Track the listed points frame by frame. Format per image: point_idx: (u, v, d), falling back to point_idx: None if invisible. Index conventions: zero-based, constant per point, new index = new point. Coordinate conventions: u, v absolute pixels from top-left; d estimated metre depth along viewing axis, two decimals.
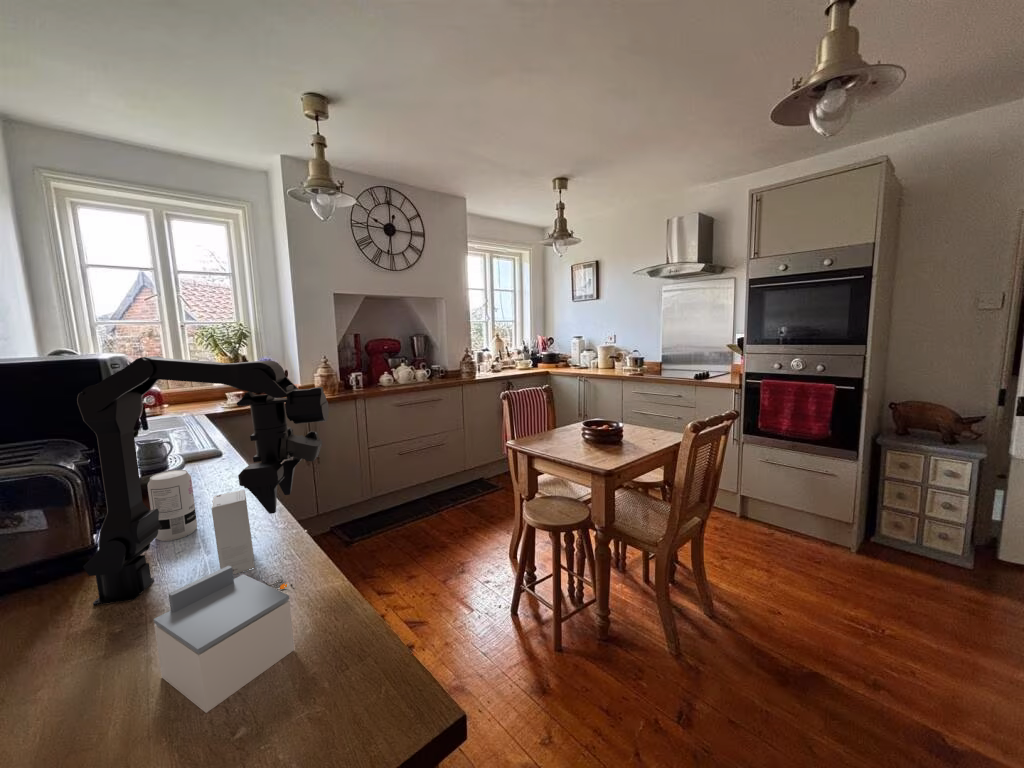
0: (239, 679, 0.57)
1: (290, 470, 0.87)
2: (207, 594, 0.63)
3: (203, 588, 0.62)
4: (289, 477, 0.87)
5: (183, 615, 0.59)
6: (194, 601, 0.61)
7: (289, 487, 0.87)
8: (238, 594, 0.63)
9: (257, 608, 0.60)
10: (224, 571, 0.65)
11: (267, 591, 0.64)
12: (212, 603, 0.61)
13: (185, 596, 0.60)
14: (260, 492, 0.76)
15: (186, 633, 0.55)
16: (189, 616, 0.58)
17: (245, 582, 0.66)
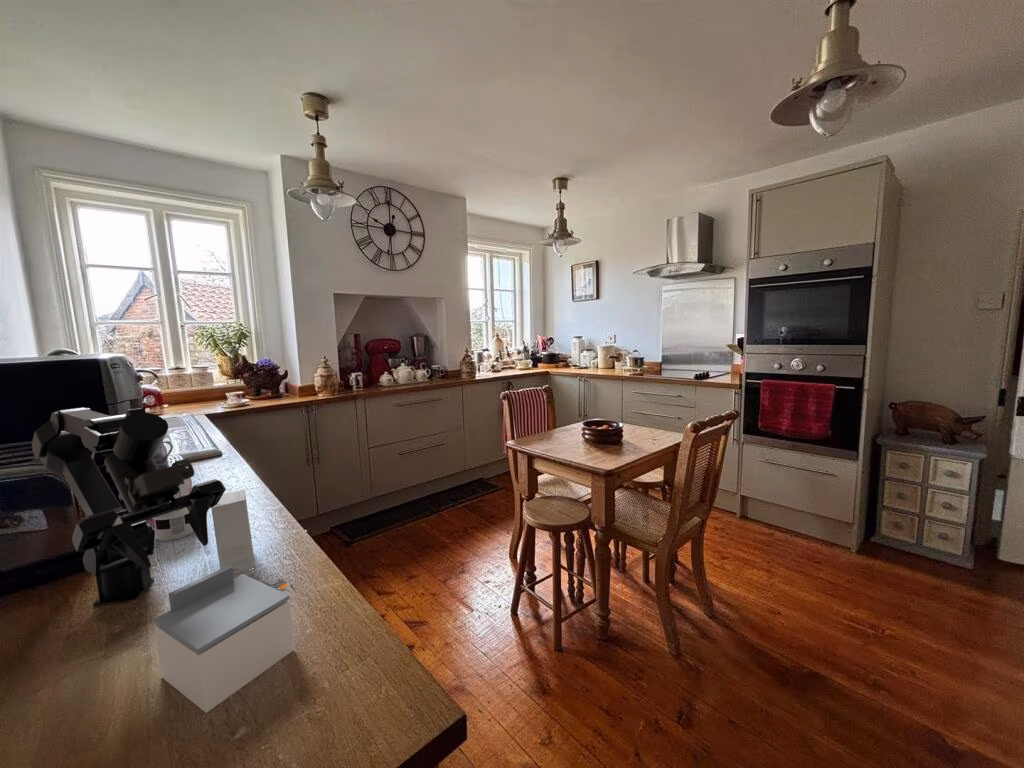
0: (239, 679, 0.57)
1: (197, 516, 0.71)
2: (207, 594, 0.63)
3: (203, 588, 0.62)
4: (198, 524, 0.70)
5: (183, 615, 0.59)
6: (194, 601, 0.61)
7: (201, 535, 0.69)
8: (238, 594, 0.63)
9: (257, 608, 0.60)
10: (224, 571, 0.65)
11: (267, 591, 0.64)
12: (212, 603, 0.61)
13: (185, 596, 0.60)
14: (122, 549, 0.63)
15: (186, 633, 0.55)
16: (189, 616, 0.58)
17: (245, 582, 0.66)
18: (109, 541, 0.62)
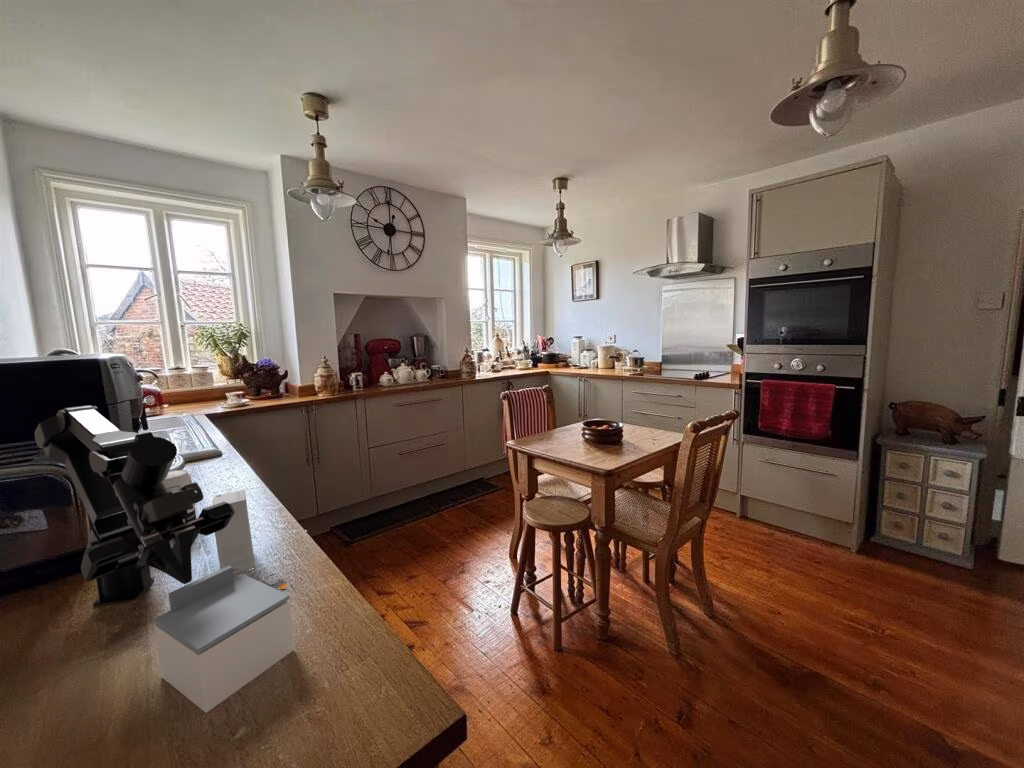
0: (239, 679, 0.57)
1: (181, 550, 0.66)
2: (207, 594, 0.63)
3: (203, 588, 0.62)
4: (181, 559, 0.66)
5: (183, 615, 0.59)
6: (194, 601, 0.61)
7: (185, 571, 0.65)
8: (238, 594, 0.63)
9: (257, 608, 0.60)
10: (224, 571, 0.65)
11: (267, 591, 0.64)
12: (212, 603, 0.61)
13: (185, 596, 0.60)
14: (161, 564, 0.65)
15: (186, 633, 0.55)
16: (189, 616, 0.58)
17: (245, 582, 0.66)
18: (149, 557, 0.65)
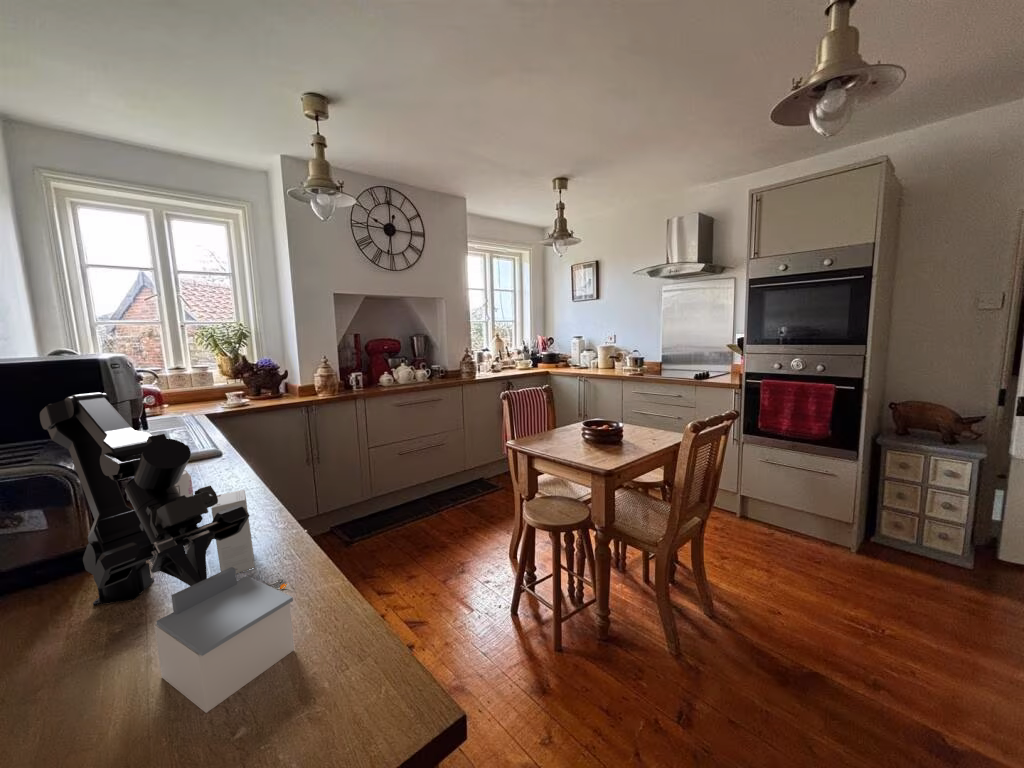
0: (239, 679, 0.57)
1: (195, 556, 0.64)
2: (210, 596, 0.62)
3: (206, 590, 0.62)
4: (196, 565, 0.64)
5: (186, 617, 0.58)
6: (197, 603, 0.61)
7: (200, 578, 0.63)
8: (241, 596, 0.63)
9: (261, 610, 0.59)
10: (227, 572, 0.65)
11: (270, 593, 0.63)
12: (216, 604, 0.61)
13: (188, 598, 0.60)
14: (175, 571, 0.63)
15: (189, 635, 0.55)
16: (192, 618, 0.58)
17: (248, 583, 0.66)
18: (162, 563, 0.62)
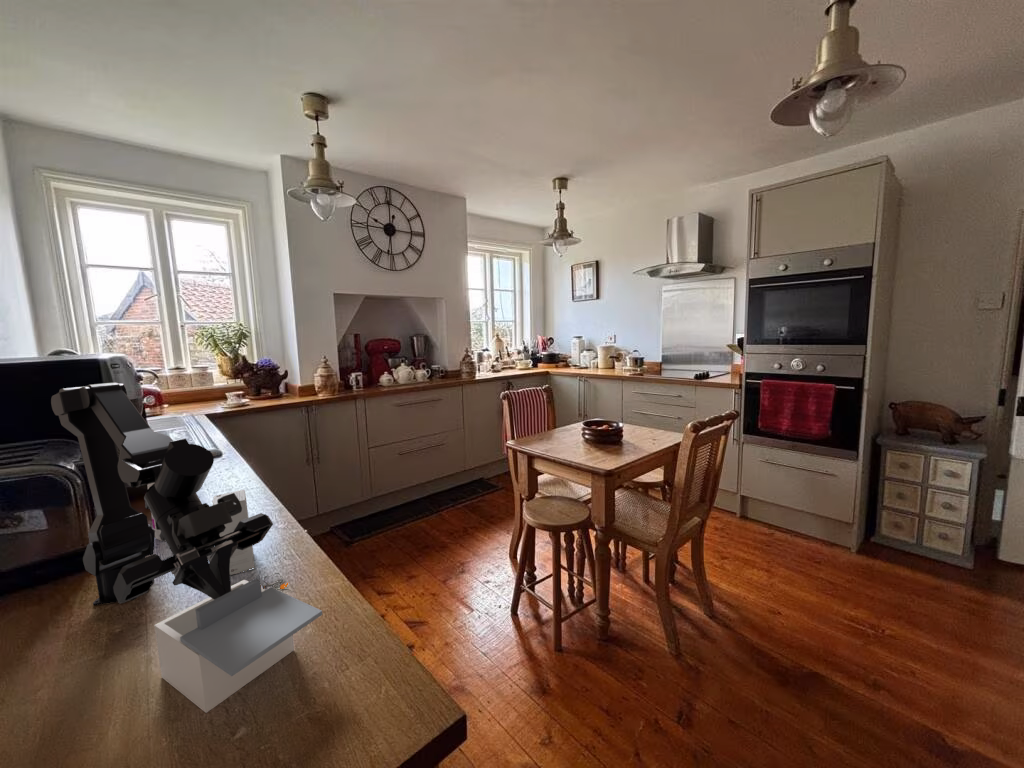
0: (239, 679, 0.57)
1: (219, 568, 0.61)
2: (235, 609, 0.59)
3: (231, 603, 0.59)
4: (220, 577, 0.60)
5: (211, 633, 0.55)
6: (222, 617, 0.58)
7: (224, 591, 0.60)
8: (268, 609, 0.59)
9: (290, 625, 0.56)
10: (252, 584, 0.61)
11: (298, 606, 0.60)
12: (241, 619, 0.58)
13: (213, 612, 0.57)
14: (198, 583, 0.60)
15: (217, 653, 0.51)
16: (218, 634, 0.55)
17: (274, 596, 0.63)
18: (185, 575, 0.59)
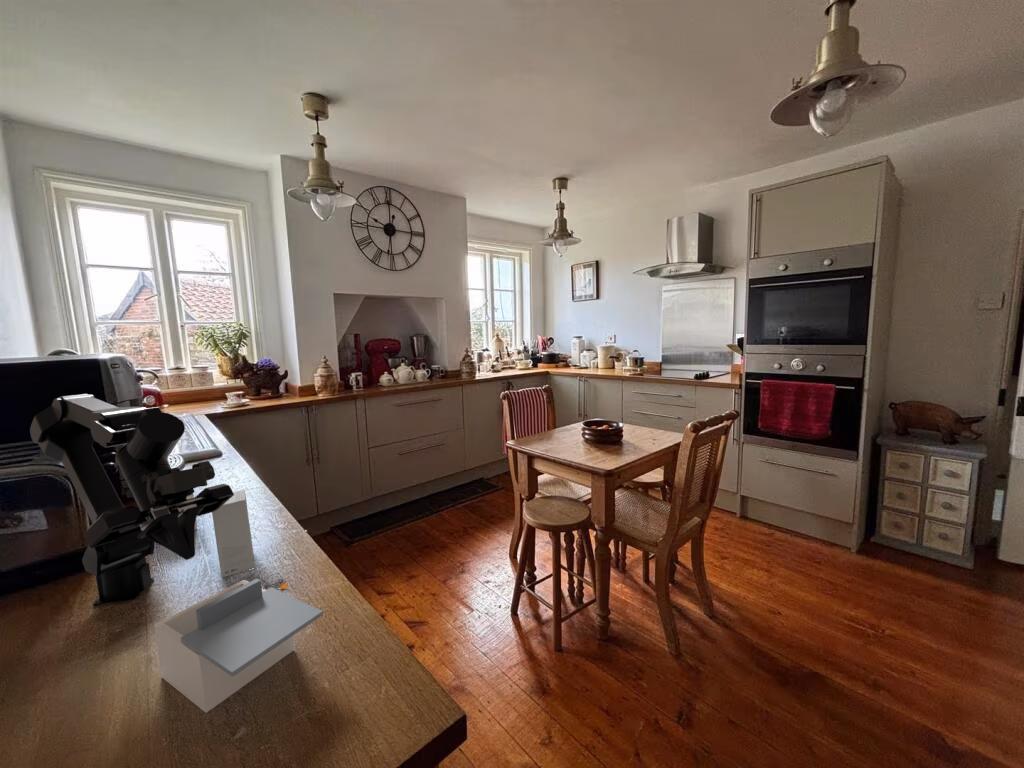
0: (239, 679, 0.57)
1: (184, 526, 0.67)
2: (235, 609, 0.59)
3: (231, 603, 0.59)
4: (185, 535, 0.67)
5: (212, 633, 0.55)
6: (222, 617, 0.58)
7: (188, 547, 0.66)
8: (268, 609, 0.59)
9: (291, 625, 0.56)
10: (253, 585, 0.61)
11: (299, 606, 0.60)
12: (242, 619, 0.57)
13: (213, 612, 0.57)
14: (163, 538, 0.66)
15: (217, 654, 0.51)
16: (219, 634, 0.55)
17: (274, 596, 0.62)
18: (152, 530, 0.65)
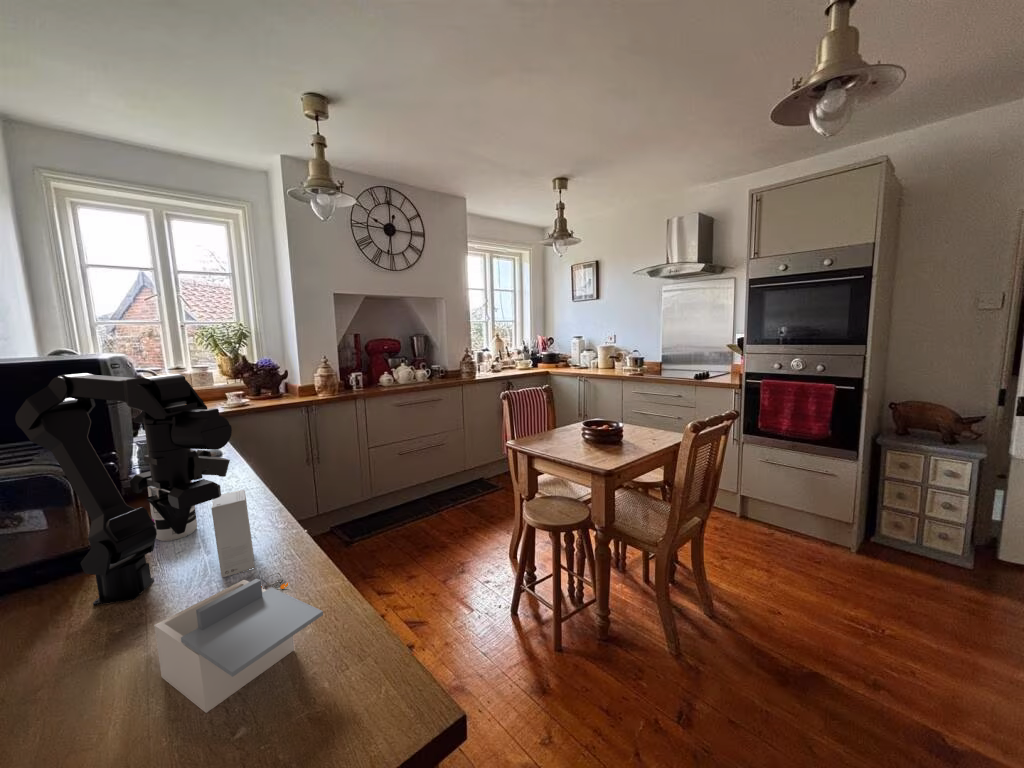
0: (239, 679, 0.57)
1: None
2: (235, 609, 0.59)
3: (231, 603, 0.59)
4: None
5: (212, 633, 0.55)
6: (222, 617, 0.58)
7: None
8: (268, 609, 0.59)
9: (291, 625, 0.56)
10: (253, 585, 0.61)
11: (299, 606, 0.60)
12: (242, 619, 0.57)
13: (213, 612, 0.57)
14: (174, 511, 0.72)
15: (217, 654, 0.51)
16: (219, 634, 0.55)
17: (274, 596, 0.62)
18: None
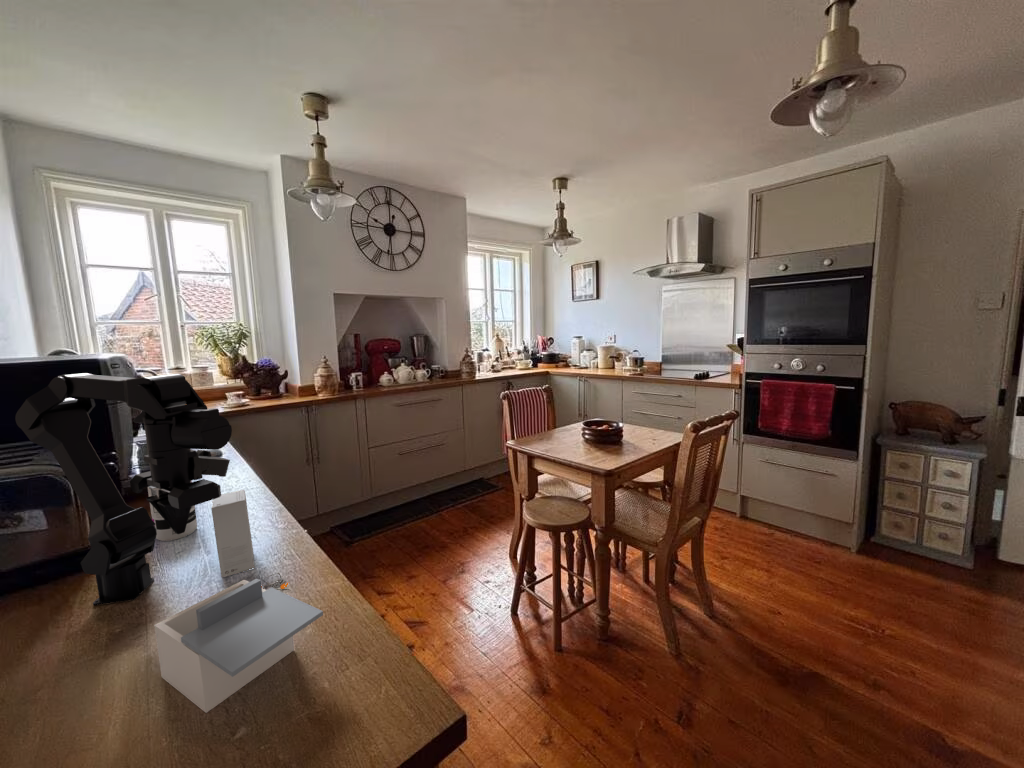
0: (239, 679, 0.57)
1: None
2: (235, 609, 0.59)
3: (231, 603, 0.59)
4: None
5: (212, 633, 0.55)
6: (222, 617, 0.58)
7: None
8: (268, 609, 0.59)
9: (291, 625, 0.56)
10: (253, 585, 0.61)
11: (299, 606, 0.60)
12: (242, 619, 0.57)
13: (213, 612, 0.57)
14: (174, 511, 0.72)
15: (217, 654, 0.51)
16: (219, 634, 0.55)
17: (274, 596, 0.62)
18: None
